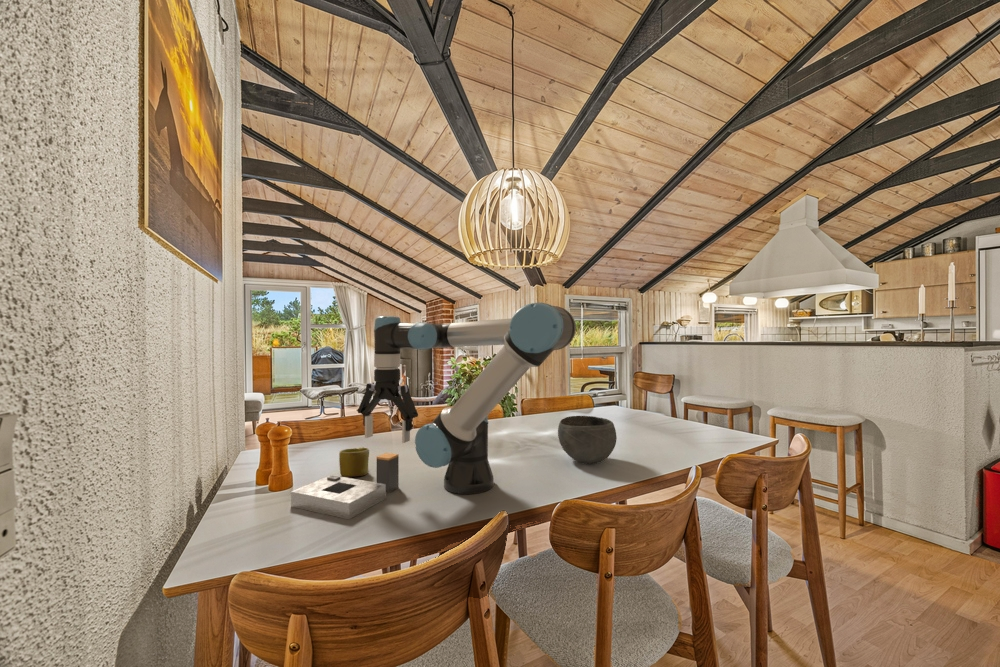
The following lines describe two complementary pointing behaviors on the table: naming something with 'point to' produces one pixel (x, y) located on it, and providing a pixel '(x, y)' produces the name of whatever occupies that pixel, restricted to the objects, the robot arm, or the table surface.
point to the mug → (354, 462)
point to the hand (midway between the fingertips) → (387, 439)
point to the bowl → (587, 438)
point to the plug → (388, 471)
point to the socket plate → (338, 496)
